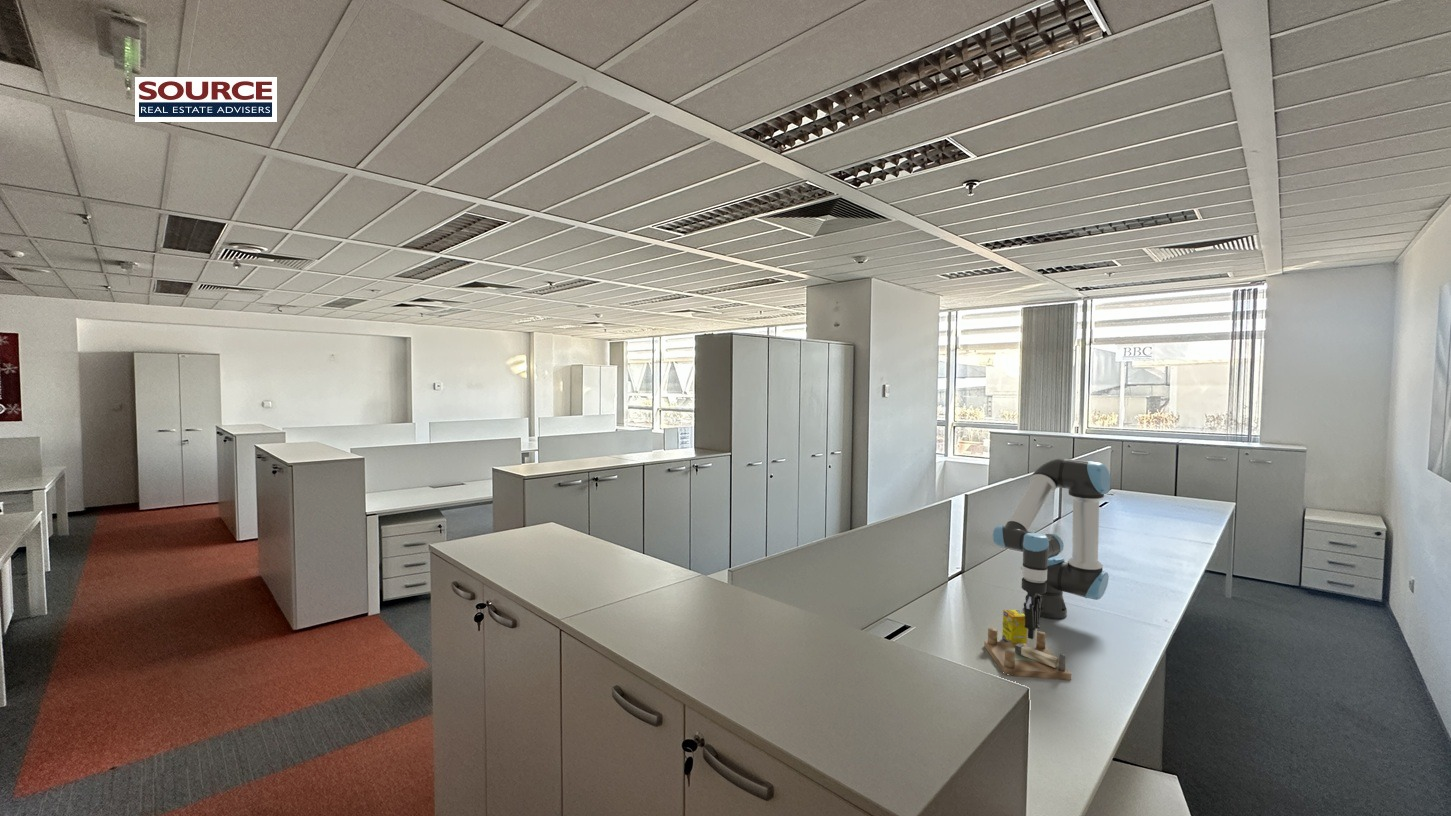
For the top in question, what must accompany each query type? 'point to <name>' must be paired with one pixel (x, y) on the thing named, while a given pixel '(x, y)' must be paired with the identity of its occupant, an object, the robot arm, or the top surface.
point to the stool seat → (1024, 658)
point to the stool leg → (1036, 655)
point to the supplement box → (1014, 627)
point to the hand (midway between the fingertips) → (1031, 646)
